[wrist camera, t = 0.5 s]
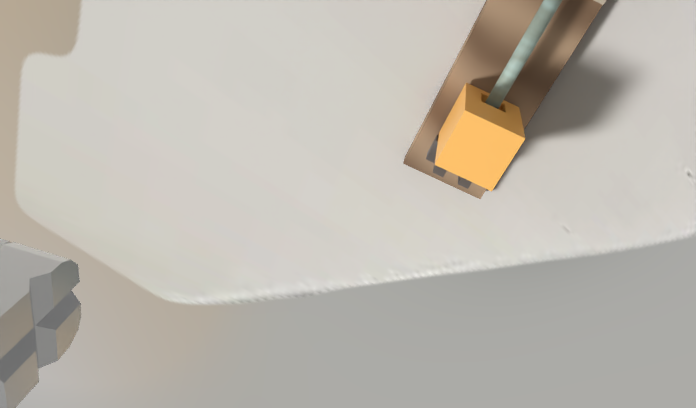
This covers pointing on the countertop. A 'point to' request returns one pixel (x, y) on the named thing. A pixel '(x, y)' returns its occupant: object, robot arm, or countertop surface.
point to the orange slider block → (479, 138)
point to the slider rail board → (505, 67)
